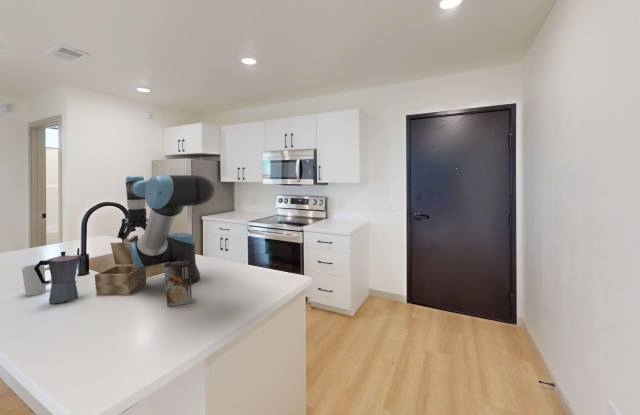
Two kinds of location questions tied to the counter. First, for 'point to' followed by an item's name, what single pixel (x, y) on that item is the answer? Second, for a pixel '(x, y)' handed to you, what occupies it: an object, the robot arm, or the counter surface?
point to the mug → (34, 280)
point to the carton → (120, 280)
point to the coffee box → (178, 283)
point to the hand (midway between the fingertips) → (139, 251)
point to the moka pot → (61, 277)
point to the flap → (123, 251)
